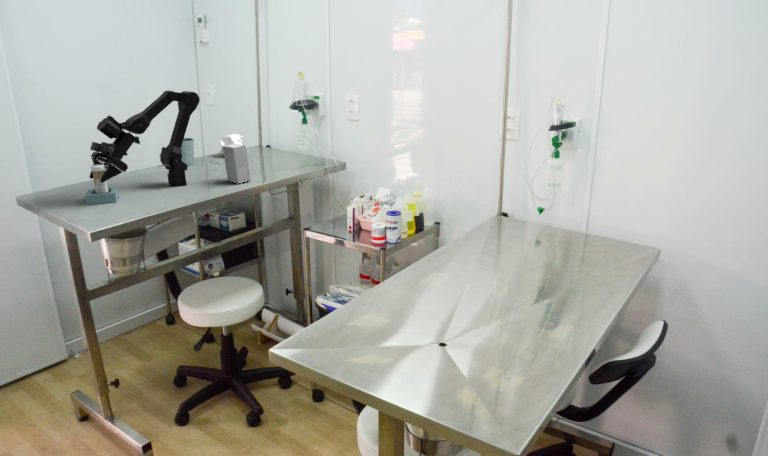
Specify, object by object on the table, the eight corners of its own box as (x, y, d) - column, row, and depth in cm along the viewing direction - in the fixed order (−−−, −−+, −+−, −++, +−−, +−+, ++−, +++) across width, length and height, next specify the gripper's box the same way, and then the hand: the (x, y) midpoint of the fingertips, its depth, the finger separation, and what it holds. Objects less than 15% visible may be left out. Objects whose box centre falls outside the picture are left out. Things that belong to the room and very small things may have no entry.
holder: (118, 195, 215) (117, 186, 214) (116, 202, 206) (114, 193, 205) (90, 197, 212) (88, 189, 210) (86, 204, 203) (84, 195, 201)
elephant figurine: (240, 161, 290) (231, 141, 291) (256, 147, 277) (247, 126, 278) (219, 165, 282) (210, 144, 282) (235, 151, 269) (226, 129, 269)
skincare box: (251, 181, 234) (248, 144, 229) (236, 185, 230) (233, 147, 224) (239, 178, 240) (236, 142, 235) (225, 181, 235) (221, 144, 230)
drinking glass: (170, 165, 264) (166, 140, 260) (181, 161, 273) (178, 137, 269) (189, 166, 262) (186, 141, 258) (200, 162, 271) (197, 138, 267)
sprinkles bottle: (97, 198, 210) (91, 164, 206) (110, 197, 212) (105, 163, 207) (96, 202, 206) (89, 166, 202) (109, 201, 207) (103, 166, 203)
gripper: (91, 130, 209) (66, 164, 205) (114, 136, 197) (87, 171, 193) (116, 148, 217) (92, 180, 213) (138, 154, 206) (113, 188, 201)
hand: (95, 180), depth 205 cm, fingers open, 9 cm apart
